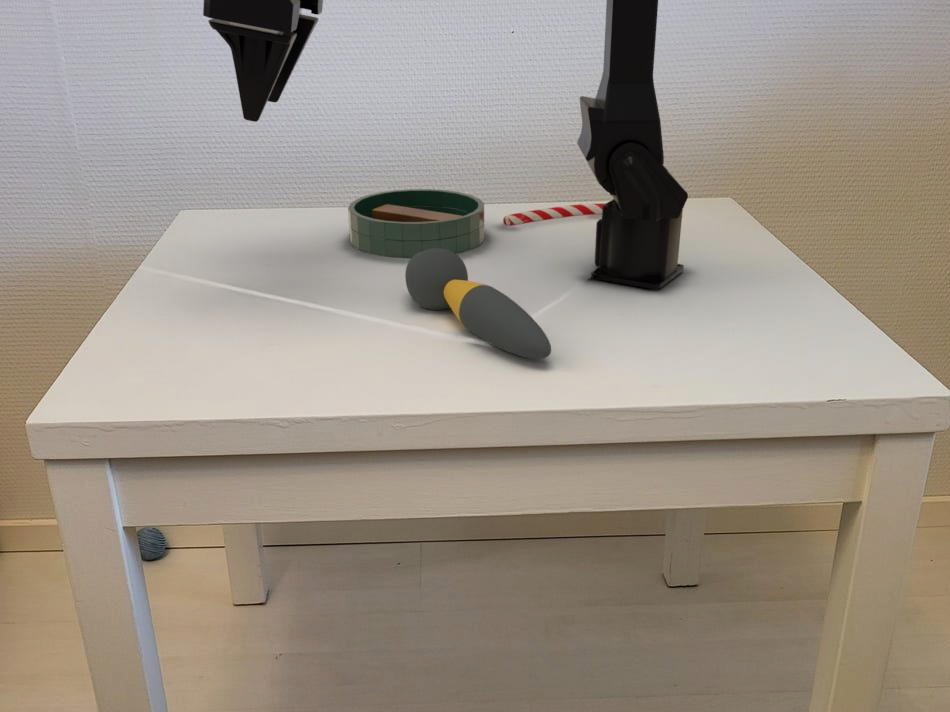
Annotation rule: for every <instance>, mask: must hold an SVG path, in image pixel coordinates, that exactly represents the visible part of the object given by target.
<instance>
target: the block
mask: <svg viewBox="0 0 950 712" xmlns="http://www.w3.org/2000/svg"><path fill="white" fill-rule="evenodd" d="M372 213H373V219H379V220H385V221H395V222H429V221H440V220H447V219H453V218H457V217H461V215H454V214H448V213H441V212H435V211H428V210H422V209H415V208H409V207H402V206H396V205H389V204H386V205H383V206H381V207H378V208H375V209H373V210H372Z"/></svg>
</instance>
